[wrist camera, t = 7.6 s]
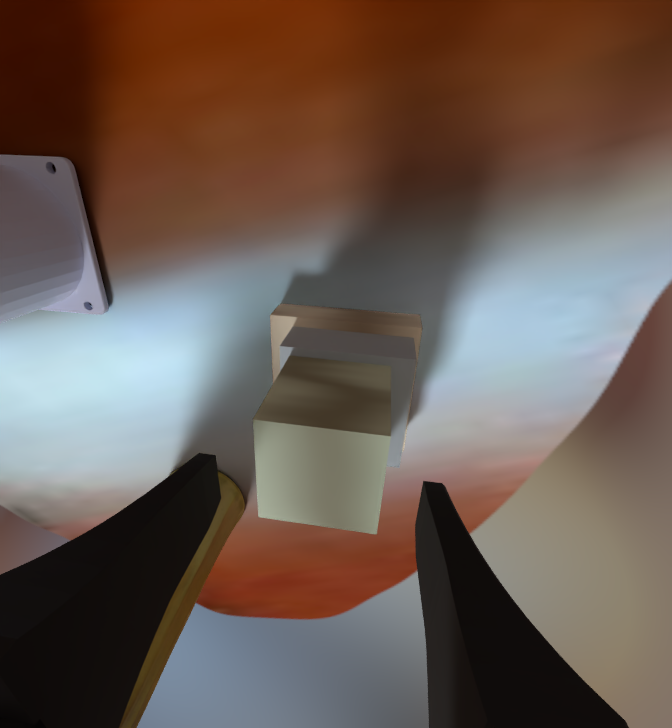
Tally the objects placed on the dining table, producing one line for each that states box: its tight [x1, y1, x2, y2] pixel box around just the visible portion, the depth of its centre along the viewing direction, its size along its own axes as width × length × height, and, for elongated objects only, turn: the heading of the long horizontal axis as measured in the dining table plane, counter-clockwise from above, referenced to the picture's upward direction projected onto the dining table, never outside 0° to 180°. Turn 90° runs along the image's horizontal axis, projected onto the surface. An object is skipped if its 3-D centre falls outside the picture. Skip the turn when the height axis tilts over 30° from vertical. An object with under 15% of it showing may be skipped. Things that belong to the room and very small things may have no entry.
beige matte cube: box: [253, 355, 391, 534], centre depth 15 cm, size 4×4×5 cm
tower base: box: [270, 303, 422, 451], centre depth 21 cm, size 8×8×2 cm
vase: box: [119, 469, 245, 728], centre depth 22 cm, size 6×6×14 cm
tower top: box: [280, 326, 417, 468], centre depth 19 cm, size 6×6×2 cm
